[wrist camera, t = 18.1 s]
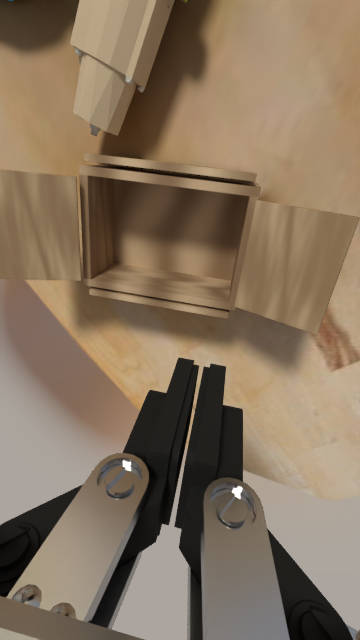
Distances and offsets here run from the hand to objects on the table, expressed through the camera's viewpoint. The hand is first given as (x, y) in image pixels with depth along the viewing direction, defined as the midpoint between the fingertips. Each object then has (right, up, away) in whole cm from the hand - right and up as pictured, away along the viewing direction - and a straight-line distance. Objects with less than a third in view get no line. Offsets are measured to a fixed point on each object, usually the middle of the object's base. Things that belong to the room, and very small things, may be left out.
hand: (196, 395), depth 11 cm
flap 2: (+5, +9, +18) cm, 20 cm away
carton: (-1, +14, +26) cm, 29 cm away
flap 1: (-10, +11, +20) cm, 25 cm away
